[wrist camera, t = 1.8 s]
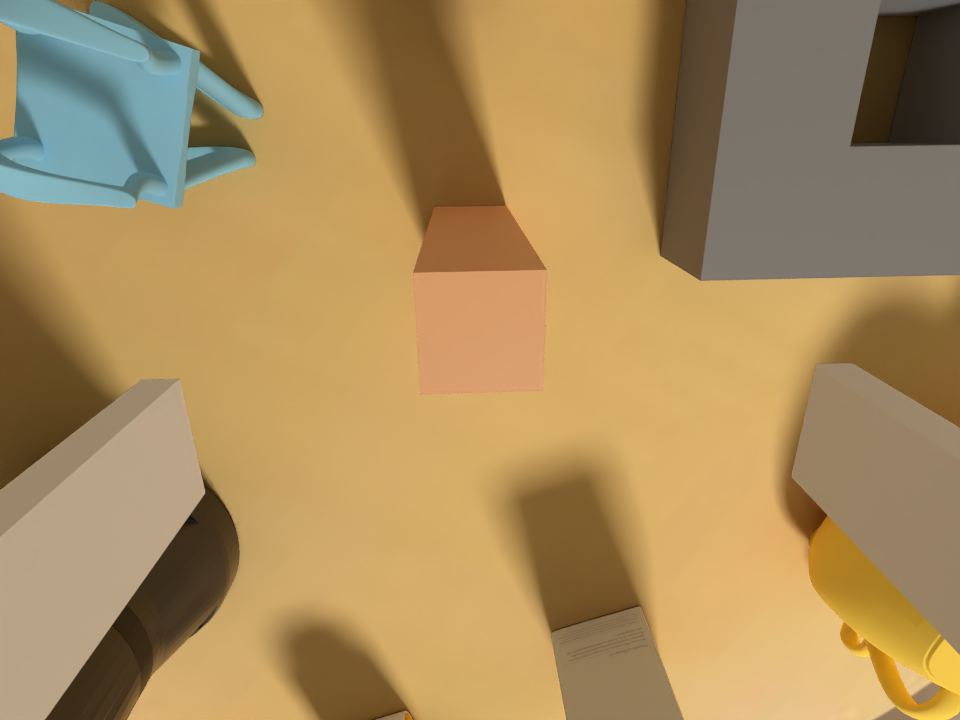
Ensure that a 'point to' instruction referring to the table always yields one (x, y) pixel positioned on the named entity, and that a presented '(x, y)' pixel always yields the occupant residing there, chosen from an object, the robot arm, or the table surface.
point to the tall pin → (479, 304)
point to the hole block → (811, 144)
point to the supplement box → (613, 670)
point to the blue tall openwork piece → (108, 110)
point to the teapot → (883, 624)
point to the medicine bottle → (397, 716)
